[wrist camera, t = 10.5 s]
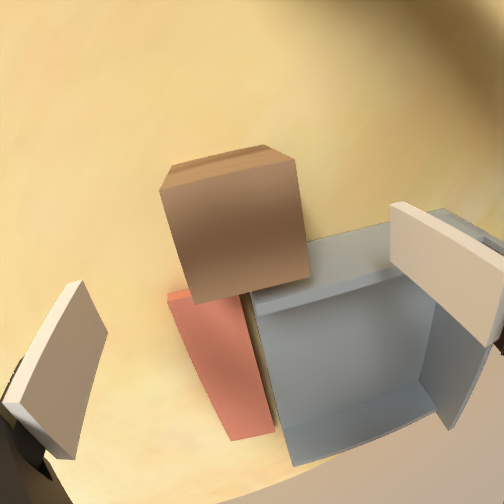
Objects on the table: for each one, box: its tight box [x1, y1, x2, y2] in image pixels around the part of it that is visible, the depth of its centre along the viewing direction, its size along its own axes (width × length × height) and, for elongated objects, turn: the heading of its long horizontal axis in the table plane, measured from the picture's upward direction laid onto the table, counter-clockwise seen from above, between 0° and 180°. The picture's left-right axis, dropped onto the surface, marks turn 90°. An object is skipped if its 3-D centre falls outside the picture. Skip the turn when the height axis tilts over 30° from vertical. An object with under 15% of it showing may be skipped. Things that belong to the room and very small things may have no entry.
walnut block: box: [159, 145, 310, 305], centre depth 18 cm, size 6×6×7 cm
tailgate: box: [167, 289, 275, 441], centre depth 26 cm, size 20×1×5 cm
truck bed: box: [249, 209, 504, 467], centre depth 24 cm, size 22×18×9 cm
